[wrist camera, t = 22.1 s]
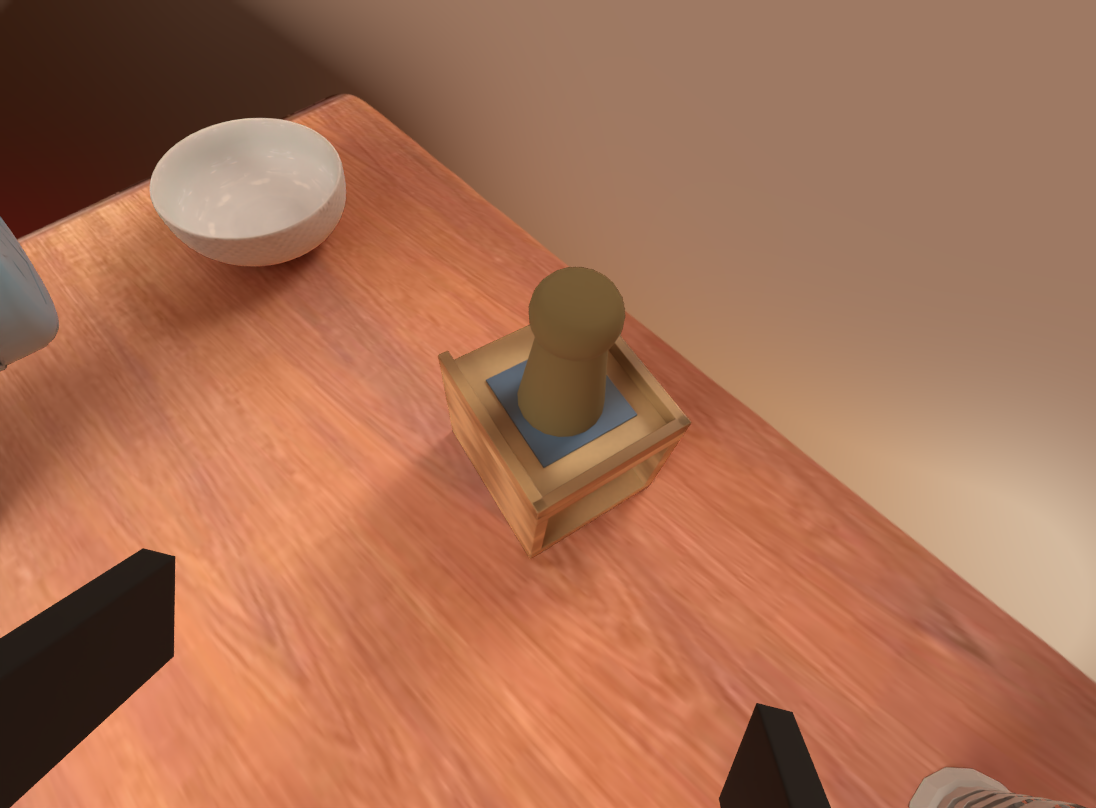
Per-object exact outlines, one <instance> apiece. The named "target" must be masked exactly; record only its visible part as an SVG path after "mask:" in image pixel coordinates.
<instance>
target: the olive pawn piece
mask: <svg viewBox="0 0 1096 808" xmlns="http://www.w3.org/2000/svg"><path fill="white" fill-rule="evenodd" d="M624 319H625V308H624V302H623V298H622V296H621V294H620V293H619V291H618V289H617V288H616V286H615V285H614V283H613V282H612V281H610V280H609V279H608V278H607V277H606V276H605V275H603V274H601V273H599V272H597V271H595V270H592V269H588V268H584V267H568V268H564V269H560V270H557V271H555V272H554V273H552V274H550V275H549V276H547V277H546V278H544V279H543V280H542V281H541V282H540V284H539V285H538V286H537V287H536V288H535V290H534V293H533V295H532V298H531V301H530V304H529V323H530V327H531V330H532V332H533V334H534V336H535V338H534V341H533V344H532V347H531V351H530V354H529V357H528V360H527V364H526V367H525V370H524V373H523V376H522V380H521V383H520V386H519V390H518V393H517V395H518V406H519V408H520V410H521V413H522V415H523V417H524V418H525V419H526V420H527V421H528V422H529V424H530V425H531V426H532V427H534V428H536V429H537V430H539V431H541V432H542V433H544V434H548V435H552V436H556V437H569V436H575V435H578V434H580V433H583V432H586V431H587V430H588V429H589V428H591V427H592V426H593V425H595V424H596V422H597V421H598V419H599V418H600V416H601V414H602V412H603V407H604V402H605V388H606V373H607V357H608V350H609V349H610V348H611V347H612V346H613V345H614V343H615V342H616V340H617V339H618V337H619V336H620V334H621V331H622V328H623V324H624Z"/></svg>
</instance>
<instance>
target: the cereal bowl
mask: <svg viewBox="0 0 1096 808" xmlns="http://www.w3.org/2000/svg"><path fill="white" fill-rule="evenodd" d="M150 197H151V200H152V203H153V206H154V208H155V210H156V211H157V213H158V214H159V216H160V218H161V219H162V220H163V221H164V223H165V224H166V225H167V226H168V227H169V229H170V230H171V231H172V232H173V233H174V234H175V235H176V237H177V238H179V239H180V240H181V241H182V242H183V243H185V244H186V245H188V247H189V248H192V249H193V250H195V251H196V252H198V253H200V254H202V255H204V256H205V257H208V258H211V259H213V260H217V261H219V262H224V263H226V264H233V265H237V266H238V265H239V266H252V267H254V266H269V265H274V264H279V263H283V262H287V261H289V260H292V259H295V258H297V257H300V256H302V255H304V254H306V253H308V252H309V251H311V250H313V249H314V248H316V247H317V246H318V245H320V244H321V243H323V242H324V240H325V239H327V237H328V236H329V235H330V234H331V233H332V231H333V230H334V229H335V227H336V225H337V224H338V223H339V220H340V218H341V217H342V213H343V211H344V207H345V201H346V182H345V175H344V170H343V166H342V162H341V160H340V157H339V155H338V153H337V151H336V150H335V148H334V147H333V146H332V144H331V143H330V142H329V141H328V140H327V139H326V138H324V137H323V136H322V135H321V134H319V133H318V132H316V131H314V130H313V129H310V128H308V127H306V126H304V125H301V124H298V123H294V122H290V121H286V120H280V119H270V118H249V119H239V120H233V121H228V122H223V123H220V124H216V125H213V126H210V127H208V128H205V129H202V130H200V131H198V132H196V133H193V134H191V135H189V136H188V137H187V138H185V139H184V140H182V141H180V142H179V143H177V144H176V145H175V146H173V147H172V148H171V149H170V150H169V151H168V152H167V153H166V154H165V155H164V156H163V157H162V159H161V160H160V161H159V162H158V164H157V166H156V168H155V170H154V172H153V174H152V177H151V181H150Z"/></svg>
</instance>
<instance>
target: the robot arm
mask: <svg viewBox="0 0 1096 808" xmlns="http://www.w3.org/2000/svg"><path fill="white" fill-rule="evenodd" d="M58 329H59V320H58V315H57V312H56V309H55V306H54V304H53V301H52V299H51V297H50V295H49V293H48V291H47V289H46V287H45V285H44V283H43V281H42V280H41V278H40V276H39V275H38V273H37V271H36V269H35V268H34V266H33V264H32V263H31V261H30V260H29V258H28V256H27V255H26V253H25V252H24V250H23V249H22V247H21V246H20V244H19V243H18V241H17V240H16V238H15V237H14V235H13V234H12V232H11V231H10V229H9V228H8V227H7V225H6V224H5V223H4V221H3V220H2V218H1V217H0V371H3V370H5V369H6V368H7V365H9V364H11V363H13V362H15V361H17V360H19V359H21V358H23V357H25V356H27V355H30V354H32V353H34V352H36V351H38V350H40V349H42V348H44V347H46V346H47V345H48V344H49V343H50V342H51V341H52V340H53V339H54V338H55V336H56V333H57V331H58ZM174 606H175V556H171V555H167V554H163V553H159V552H156V551H152V550H148V549H144V548H143V549H141V550H140V551H138V552H137V553H135V554H133V555H132V556H130V557H129V558H127V559H125V560H124V561H122V562H121V563H119V564H118V565H116V566H114V567H113V568H111V569H110V570H108V571H106V572H105V573H103V574H102V575H100V576H98V577H97V578H95V579H94V580H92V581H91V582H89V583H87V584H86V585H84V586H83V587H81V588H79V589H78V590H76V591H75V592H73V593H72V594H70V595H68V596H67V597H65V598H64V599H62V600H60V601H59V602H57V603H56V604H54V605H52V606H51V607H49V608H48V609H46V610H45V611H43V612H41V613H40V614H38V615H37V616H35V617H33V618H32V619H30V620H29V621H27V622H26V623H24V624H22V625H21V626H19V627H18V628H16V629H14V630H13V631H11V632H10V633H8V634H7V635H5V636H3V637H2V638H0V808H10V807H11V806H12V805H13V804H14V803H15V802H16V801H18V800H19V799H20V798H21V797H22V796H23V795H24V794H25V793H26V792H27V791H28V790H29V789H31V788H32V787H33V786H34V785H35V784H36V783H37V782H38V781H39V780H40V779H41V778H42V777H44V776H45V775H46V774H47V773H48V772H49V771H50V770H51V769H52V768H53V767H54V766H55V765H57V764H58V763H59V762H60V761H61V760H62V759H63V758H64V757H65V756H66V755H67V754H68V753H70V752H71V751H72V750H73V749H74V748H75V747H76V746H77V745H78V744H79V743H80V742H81V741H83V740H84V739H85V738H86V737H87V736H88V735H89V734H90V733H91V732H92V731H93V730H94V729H96V728H97V727H98V726H99V725H100V724H101V723H102V722H103V721H104V720H105V719H106V718H107V717H109V716H110V715H111V714H112V713H113V712H114V711H115V710H116V709H117V708H118V707H119V706H120V705H121V704H123V703H124V702H125V701H126V700H127V699H128V698H129V697H130V696H131V695H132V694H133V693H134V692H136V691H137V690H138V689H139V688H140V687H141V686H142V685H143V684H144V683H145V682H146V681H147V680H149V679H150V678H151V677H152V676H153V675H154V674H155V673H156V672H157V671H158V670H159V669H160V668H162V667H163V666H164V665H165V664H166V663H167V662H168V661H169V660H170V659H171V658H172V657H173V656H174ZM719 801H720V806H721V808H831V807H830V804H829V802H828V799H827V797H826V794H825V792H824V789H823V787H822V784H821V782H820V779H819V777H818V774H817V772H816V769H815V767H814V764H813V762H812V759H811V757H810V754H809V752H808V749H807V747H806V745H805V742H804V740H803V737H802V735H801V732H800V730H799V727H798V725H797V722H796V720H795V717H794V715H793V712H790V711H786V710H782V709H778V708H774V707H770V706H766V705H762V704H758V703H756V706H755V708H754V711H753V714H752V716H751V719H750V721H749V724H748V726H747V729H746V731H745V734H744V736H743V739H742V741H741V744H740V747H739V749H738V752H737V754H736V757H735V759H734V762H733V764H732V767H731V769H730V772H729V774H728V777H727V780H726V782H725V785H724V787H723V790H722V792H721V795H720V797H719Z"/></svg>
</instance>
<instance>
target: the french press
mask: <svg viewBox="0 0 1096 808" xmlns="http://www.w3.org/2000/svg"><path fill="white" fill-rule="evenodd" d="M1015 796H1018V797H1015ZM1023 796H1027V797H1023ZM1031 799H1034V801H1033V800H1031ZM1040 799H1044V800H1047V801H1043V800H1040ZM1023 800H1025V801H1026V802H1028V804H1024V803H1023V802H1021V801H1023ZM1057 804H1058V805H1059V806H1060V807H1062V808H1070V807H1069V806H1067V805H1064V804H1068V805H1070V806H1073V807H1075V808H1086V807H1083V806H1080V805H1077V804H1073V803H1068V802H1063V801H1053V800H1050V799H1045V798H1041V797H1032V796H1028V795H1024V794H1015V793H1011V792H1010V791H1009V790H1008V789H1007V788H1006V787H1005V786H1004V785H1003V784H1002V783H1000V782H998V781H996V780H994V779H992V778H990V777H988V776H986V775H984V774H982V773H980V772H978V771H976V770H974V769H969V768H951V767H945V768H943V769H941V770H939V771H938V772H936V773H934V774H932V775H930V776H928V777H926V778H924V779H923V781H922V783H921V784H920V786H919V788H918V789H917V791H916V793H915V794H914V796H913V798H912V799H911V801H910V806H909V808H1055V807H1054V806H1055V805H1057Z"/></svg>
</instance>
